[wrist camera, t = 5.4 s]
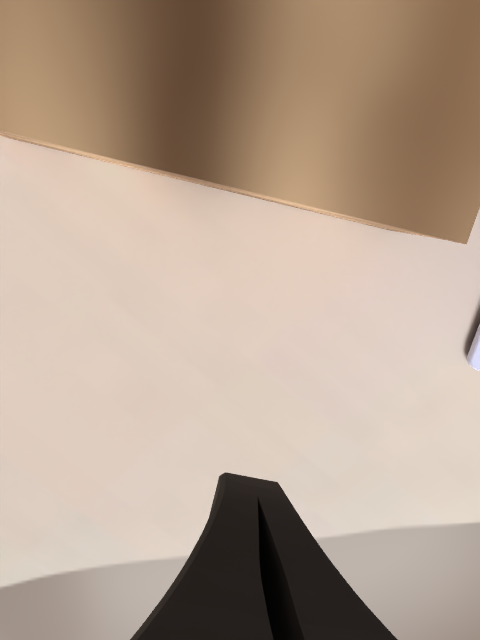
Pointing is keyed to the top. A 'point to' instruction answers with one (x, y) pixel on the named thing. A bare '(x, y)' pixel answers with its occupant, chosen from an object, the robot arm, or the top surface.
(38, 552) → the top surface
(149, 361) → the top surface
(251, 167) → the box lid
